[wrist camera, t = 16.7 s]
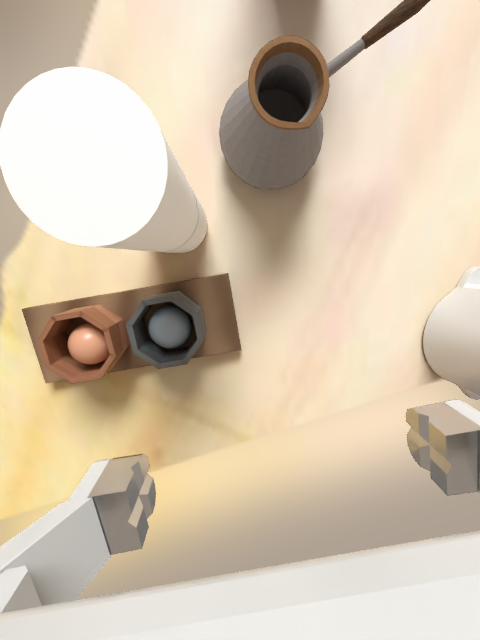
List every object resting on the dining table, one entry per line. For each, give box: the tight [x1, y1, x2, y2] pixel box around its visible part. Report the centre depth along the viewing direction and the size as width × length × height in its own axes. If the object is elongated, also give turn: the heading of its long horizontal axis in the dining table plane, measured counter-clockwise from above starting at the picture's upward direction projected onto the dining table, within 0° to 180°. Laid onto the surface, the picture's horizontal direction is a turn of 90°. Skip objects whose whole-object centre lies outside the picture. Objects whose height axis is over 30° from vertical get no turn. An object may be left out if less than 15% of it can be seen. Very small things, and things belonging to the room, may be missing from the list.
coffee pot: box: [219, 0, 430, 190], centre depth 28 cm, size 21×12×15 cm, turn 120°
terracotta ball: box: [68, 323, 110, 364], centre depth 36 cm, size 5×5×5 cm
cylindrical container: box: [0, 67, 207, 253], centre depth 25 cm, size 7×7×25 cm
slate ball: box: [149, 306, 191, 348], centre depth 36 cm, size 5×5×5 cm
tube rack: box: [22, 273, 241, 384], centre depth 37 cm, size 26×10×6 cm, turn 100°
